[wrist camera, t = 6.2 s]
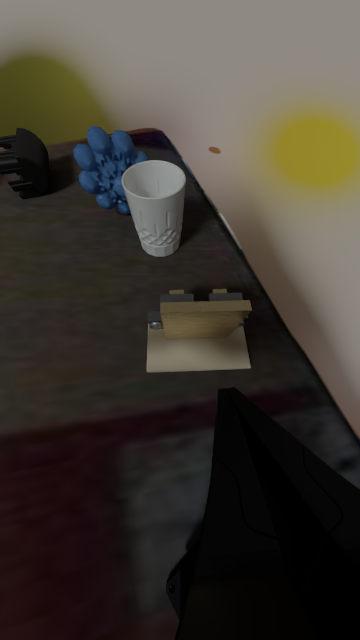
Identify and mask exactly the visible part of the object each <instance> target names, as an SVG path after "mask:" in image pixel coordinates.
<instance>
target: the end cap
mask: <svg viewBox="0 0 360 640" xmlns="http://www.w3.org/2000/svg"><path fill="white" fill-rule="evenodd" d="M0 147H4V149H9V150H7V151H3V152H0V174H1V175H3V174H10V173H16V174H17V175H20V180H16V181H9V182H8V184H9V185H10V186H11V187H12V189H13V190H14V191H15V192H17V191H19V196H20V197H21V198H22V199H28V198H34V197H40V196H44V195H45V194H46V193H47V191H48V188H49V184H50V183H49V157H48V152H47V149H46V147H45V145H44V144H43V142H42V141H41V140H40V139H39V138H38V137H37V136H36V135H35V134H33V133H32V132H30V131H28V130H26V129H23V128H17V131H16V135H13V136H5V137H0Z"/></svg>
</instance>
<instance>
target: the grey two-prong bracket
mask: <svg viewBox="0 0 360 640" xmlns="http://www.w3.org/2000/svg"><path fill="white" fill-rule="evenodd" d="M240 300H243V298H242V293H209V295H208V298H207V301H240ZM163 302H194V295H193V294H166V295H160V304H161V303H163ZM247 319H248V315H247V316H246V318H245V319H244V320H243V321H242V322H241V323H240V324H239V325H238V326H237V327H242V326H244V325H245V321H246V320H247ZM148 323H149V328H150V329H151V330H161V329H164V327H163V322H162V318H161V313H160V311H155V312H148Z"/></svg>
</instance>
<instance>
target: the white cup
mask: <svg viewBox="0 0 360 640" xmlns="http://www.w3.org/2000/svg"><path fill="white" fill-rule="evenodd" d="M185 181H186V178H185V174H184V172H183V171H182V170H181V169H180V168H179V167H178V166H176V165H174V164H172V163H169V162H166V161H159V160H150V161H144V162H140V163H137V164H135V165H133V166H131V167H129V168H128V169H127V170H126V171H125V172H124V174H123V176H122V186H123V189H124V192H125V195H126V199H127V202H128V205H129V208H130V212H131V215H132V218H133V221H134V224H135V227H136V230H137V233H138V235H139V237H140V241H141V244H142V247H143V249H144V250H145V251H146V252H147V253H148V254H150V255H153V256H155V257H165V256H168V255H171V254H173V253H174V252H175V251H176V250H177V249H178V248H179V244H180V237H181V230H182V219H183V208H184V194H185Z"/></svg>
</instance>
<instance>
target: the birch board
mask: <svg viewBox="0 0 360 640" xmlns="http://www.w3.org/2000/svg"><path fill="white" fill-rule="evenodd" d="M249 368H251V366H250V360H249V355H248V350H247V345H246V339H245V334H244V329H243V326H242V327H237V328H236V329H235V330H234V331H233V332H232V333H231V334H230V335H229V337H225V338H193V339H166V337H165V332H164V329H161V330H151V329H150V328H149V323H148V348H147V372H175V371H203V370H231V369H249Z"/></svg>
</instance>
